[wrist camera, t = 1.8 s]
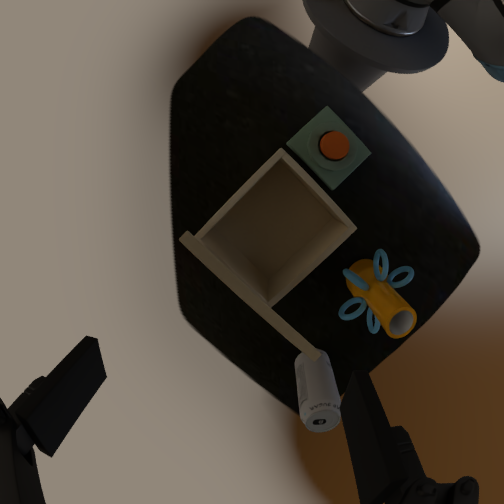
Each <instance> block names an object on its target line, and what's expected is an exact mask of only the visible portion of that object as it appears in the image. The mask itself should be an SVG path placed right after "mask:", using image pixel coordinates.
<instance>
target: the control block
mask: <svg viewBox="0 0 504 504" xmlns="http://www.w3.org/2000/svg"><path fill="white" fill-rule="evenodd" d="M332 131H338V132H341V133H342V134H344V135H345V136H346V137H347V139H348V141H349V151H348V153H347V154H346V156H344V157H343V158H340V159H329V158H327V157H326V156H324V155H323V153H322V152H321V149H320V141H321V139H322V137H323V136H324V135H326V134H327V133H329V132H332ZM287 145H288V146H289V147H290V148H291V149H292V150H293V151H294V152H295V153H296V154H297V155H298V156H299V157H300V158H301V159H302V160H303V161H304V162H305V163H306V164H307V165H308V166H309V167H310V168H311V170H312V171H313V172H314V173H315V174H316V175H317V176H318V177H319V178H320V179H321V180H322V181H323V182H324V183H325V184H326V185H327V186H328V188H329V189H330V190H334V189H335V188H336V187H337V186H338V185H339V184H340V183H341V182H342V181H343V180H344V179H345V178H346V177H347V176H348V175H349V174H350V173H351V172H353V171H354V170H355V169H356V168H357V167H358V166H359V165H360V164H361V163H362V162H363V161H364V160H365V159H366V158H367V157H368V156H369V155H370V154H371V152H370V151H369V150H368V148H367V147H366V146H365V145H364V144H363V143H362V142H361V141H360V139H359V138H358V137H357V136H356V135H355V134H354V133H353V132H352V131H351V130H350V129H349V127H348V126H347V125H346V124H345V123H344V122H343V121H342V120H341V119H340V118H339V117H338V116H337V115H336V114H335V113H334V112H333V111H332V110H331V109H330V108H329V107H328V106H326V107H325V108H324V109H323V110H322V111H320V112H319V113H318V114H317V115H316V116H315V117H314V118H313V119H312V120H311V121H310V122H308V123H307V124H306V125H305V126H304V127H303V128H302V129H301V130H300V131H299V132H298V133H297V134H296V135H295V136H293V137H292V138H291V139H290V140H289V141H288V142H287Z"/></svg>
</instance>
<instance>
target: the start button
mask: <svg viewBox="0 0 504 504" xmlns="http://www.w3.org/2000/svg"><path fill="white" fill-rule="evenodd" d="M320 149H321V152H322V153H323V155H324V156H326V157H327V158H329V159H340V158H343V157H344V156H346V154H347V153H348V151H349V141H348V139H347V137H346V136H345V135H344V134H342V133H341V132H338V131H332V132H329V133H327V134H326V135H324V136H323V137H322V139H321V141H320Z"/></svg>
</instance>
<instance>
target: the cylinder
mask: <svg viewBox="0 0 504 504" xmlns="http://www.w3.org/2000/svg"><path fill="white" fill-rule="evenodd" d="M380 255H381V257H382V262H383V268H382V267H380V266H379V257H380ZM401 272H409V274H408V276H407V277H406V278H405V279H403V280H402V281H399V282H392V279H393V278H394V277H395V276H396V275H397V274H399V273H401ZM343 274H344V276H345V277H346V284H347V287H348V288H349V290H350V292H351V293H352V295H353V296H354V298H352V299H350V300H348V301H347V302H345V303H344V304H343V305H342V306H341V308H340V310H339V317H340V318H341V319H343V320H351V319H354V318H356V317H358V316H359V315H360V314H362V313H363V311H364V310H365V308H366V306H367V305H368V306H369V308H368V312H367V325H368V329H369V331H370V332H371V333H373V334H375V333H377V332H378V330H379V327H380V324H381V325H382V327H383V328H384V330H385V331H386V333H387V334H388V335H389V336H390V337H392V338H401V337H404V336H405V335H407V334H408V333H409V332H410V331H411V330H412V329H413V328H414V326H415V324H416V320H417V316H416V312H415V311H414V310H413V309H412V307H411V306H410V305H409V304H408V303H407V302H406V301H405V300H404V299H403V298H402V297H401V296H400V295H399V294H398V293H397V292H396V291H395V290H394V289H393V288H399V287H402V286H404V285H406V284H407V283H409V282H410V281H411V280H412V278H413V276H414V270H413V268H411V267H409V266H402V267H399V268H397V269H395V270H394V271H392V272H391V273H390V274H389V276H388V257H387V254H386V252H385V251H384V250H383V249H378V250H377V251H376V253H375V255H374V260H370V259H361V260H358V261H357V262H355V263H354V264H352V266H351V267H350V268H349V269H344V270H343ZM358 302H359V303H361V306H360V307H359V309H358V310H356V311H355V312H353V313H351V314H344V312H345V310H346V309H347V308H348V307H349V306H350V305H352V304H354V303H358ZM372 312H373V313H374V315H375V326H374V327H373V324H372Z"/></svg>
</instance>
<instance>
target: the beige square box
mask: <svg viewBox="0 0 504 504" xmlns="http://www.w3.org/2000/svg"><path fill="white" fill-rule="evenodd" d="M356 229H357V227H356V226H355V225H354V224H353V223H352V222H351V220H350V219H349V218H348V217H347V216H346V215H345V214H344V212H343V211H342V210H341V209H340V208H339V207H338V206H337V205H336V204H335V202H334V201H333V200H332V199H331V198H330V197H329V196H328V195H327V194H326V193H325V192H324V190H323V189H322V188H321V187H320V186H319V185H318V184H317V183H316V182H315V181H314V180H313V179H312V178H311V177H310V176H309V175H308V174H307V173H306V172H305V171H304V169H303V168H302V167H301V166H300V165H299V164H298V163H297V162H296V161H295V160H294V159H293V158H292V157H291V156H290V155H289V154H288V153H286V152H285V151H284V150H283V149H282V148H280V149H279V150H278V151H277V152H276V153H275V154H274V155H273V156H272V157H271V158H270V159H269V160H268V161H267V162H266V163H265V164H264V165H263V166H262V167H261V168H260V169H259V170H258V171H257V172H256V173H255V174H254V175H253V176H252V177H251V178H250V179H249V180H248V181H247V182H246V183H245V184H244V185H243V186H242V187H241V188H240V189H239V190H238V191H237V192H236V193H235V194H234V195H233V196H232V197H231V198H230V199H229V200H228V201H227V202H226V203H225V204H224V205H223V206H222V207H221V208H220V209H219V211H218V212H217V213H216V214H215V215H214V216H213V217H212V218H211V219H210V220H209V221H208V222H207V223H206V224H205V225H204V226H203V228H202V229H201V230H200V231H199V232H198V233H197V234H196V235H195V236H194V237H195V238H196V239H197V240H198V241H199V242H200V243H201V244H202V245H203V246H204V247H205V248H206V249H207V250H208V251H210V252H211V253H212V254H213V255H214V256H215V257H216V258H217V259H218V260H219V261H220V262H221V263H222V264H223V265H224V266H225V267H226V268H228V269H229V270H230V271H231V272H232V273H233V274H234V275H235V276H236V277H237V278H238V279H239V280H240V281H242V282H243V283H244V284H245V285H246V286H247V287H248V288H249V289H250V290H251V291H252V292H253V293H255V294H256V295H257V296H258V297H259V298H260V299H261V300H262V301H263V302H264V303H265V304H267V305H268V306H269V307H270V308H271V307H272V306H273V305H274V304H276V303H277V302H278V301H279V300H280V299H281V298H282V297H284V296H285V295H286V294H287V293H288V292H289V291H290V290H292V289H293V288H294V287H295V286H296V285H297V284H298V283H299V282H300V281H302V280H303V279H304V278H305V277H306V276H307V275H308V274H309V273H310V272H312V271H313V270H314V269H315V268H316V267H317V266H318V265H319V264H320V263H321V262H322V261H323V260H325V259H326V258H327V257H328V256H329V255H330V254H331V253H332V252H333V251H334V250H335V249H336V248H337V247H338V246H339V245H341V244H342V243H343V242H344V241H345V240H346V239H347V238H348V237H349V236H350V235H351V234H352V233H353V232H354V231H355V230H356Z"/></svg>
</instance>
